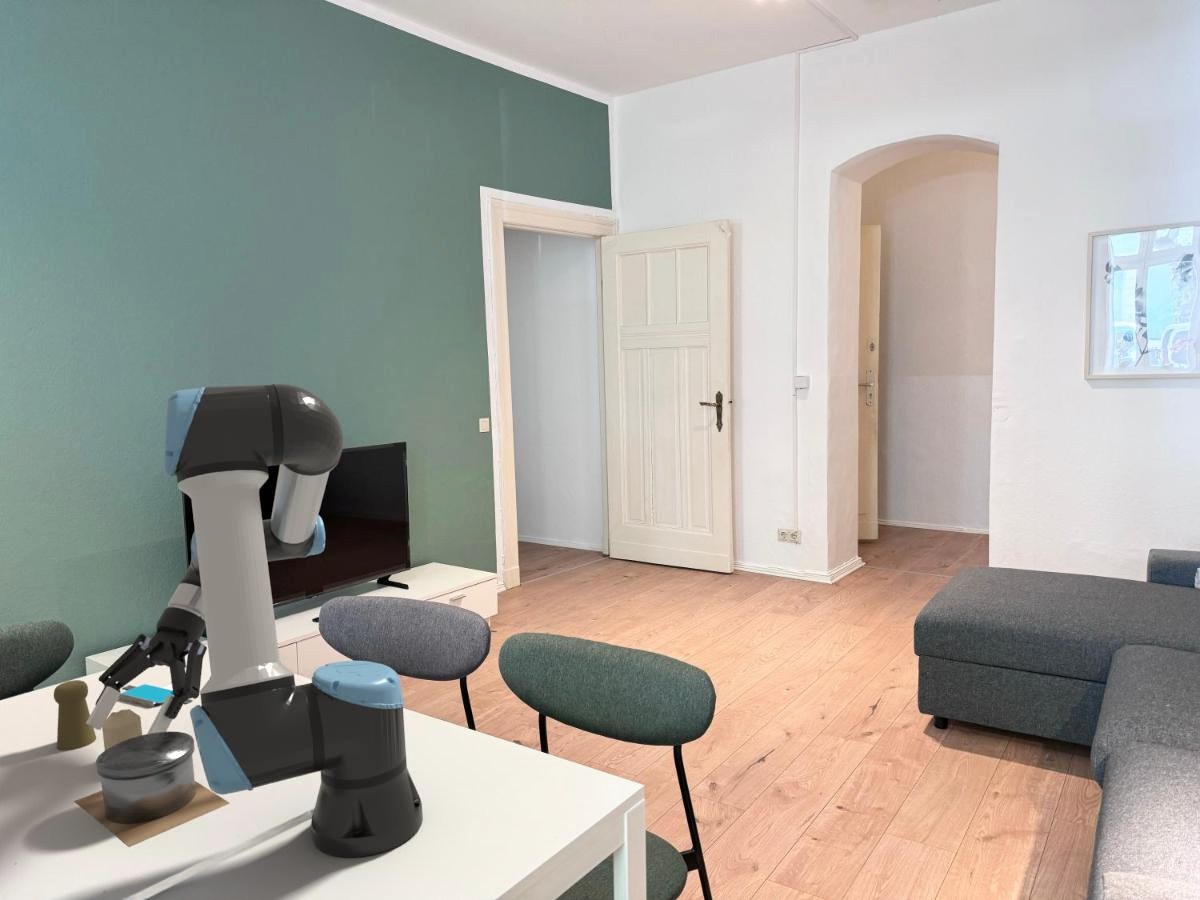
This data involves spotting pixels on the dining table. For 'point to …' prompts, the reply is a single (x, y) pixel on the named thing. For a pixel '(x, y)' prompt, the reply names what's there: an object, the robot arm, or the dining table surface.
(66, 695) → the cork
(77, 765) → the dining table surface
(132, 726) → the candle
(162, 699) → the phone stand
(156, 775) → the round metal tin
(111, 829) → the wooden board
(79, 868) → the dining table surface
